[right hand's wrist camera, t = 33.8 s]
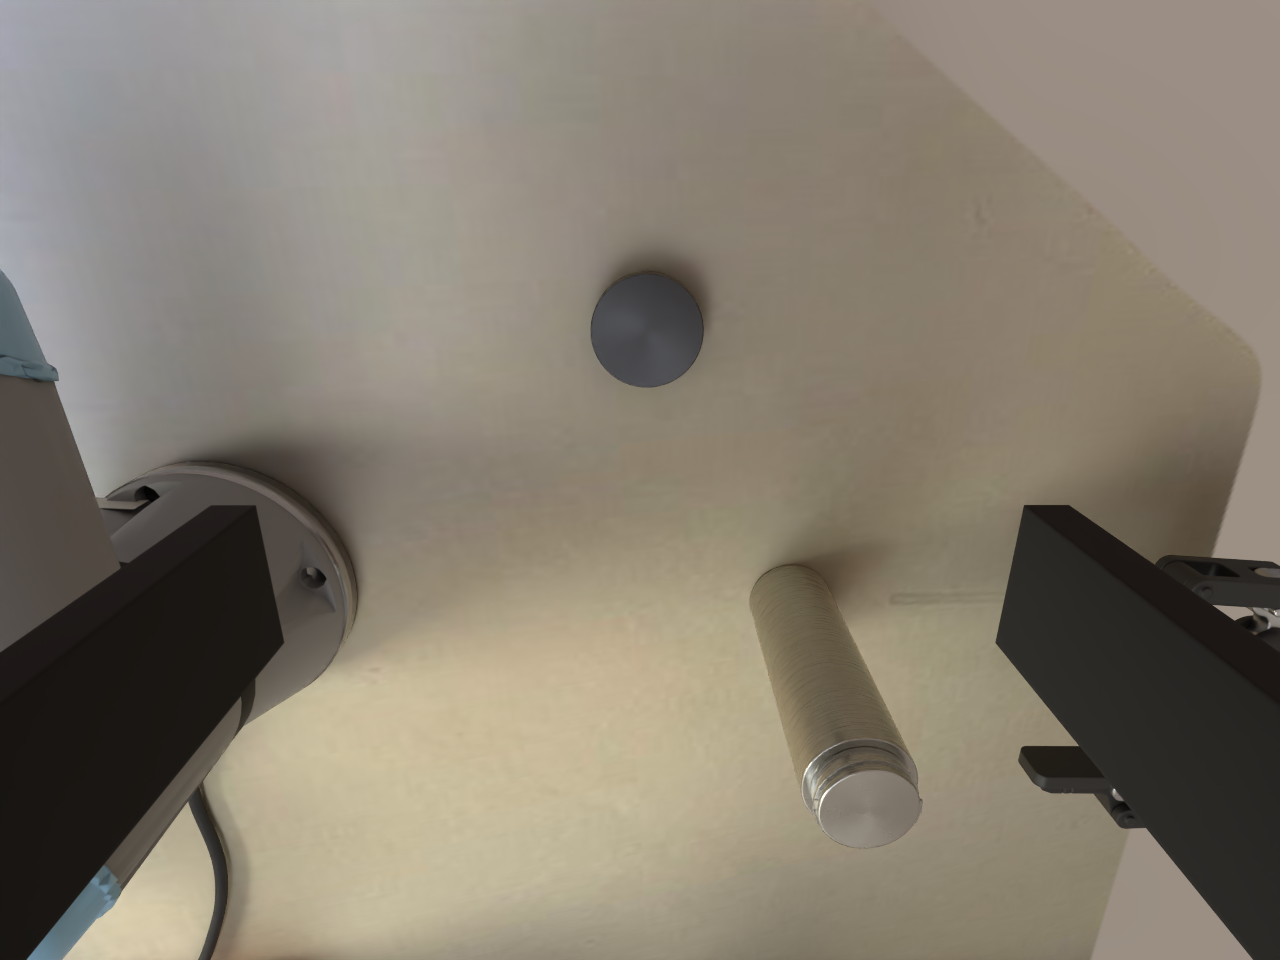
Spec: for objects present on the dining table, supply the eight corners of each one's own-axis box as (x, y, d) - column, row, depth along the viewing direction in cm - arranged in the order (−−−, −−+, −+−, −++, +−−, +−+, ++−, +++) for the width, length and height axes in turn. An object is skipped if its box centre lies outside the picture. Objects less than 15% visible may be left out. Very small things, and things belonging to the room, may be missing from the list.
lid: (605, 390, 39) (604, 397, 37) (581, 284, 37) (579, 287, 35) (709, 368, 38) (712, 375, 37) (690, 260, 36) (692, 262, 35)
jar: (748, 634, 44) (805, 857, 29) (750, 565, 43) (811, 764, 27) (826, 632, 44) (923, 854, 29) (831, 563, 43) (937, 761, 27)
